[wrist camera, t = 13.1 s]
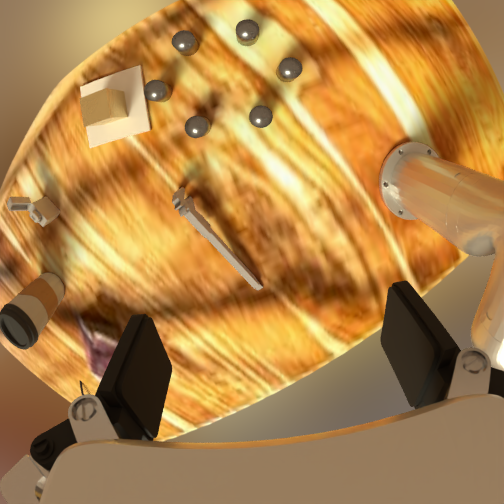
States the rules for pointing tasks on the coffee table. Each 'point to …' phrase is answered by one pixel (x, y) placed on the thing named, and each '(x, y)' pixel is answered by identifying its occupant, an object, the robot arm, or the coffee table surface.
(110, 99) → the tan rectangular block
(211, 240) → the caliper
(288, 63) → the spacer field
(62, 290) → the coffee cup
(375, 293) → the coffee table surface
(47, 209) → the lighter
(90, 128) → the coaster
